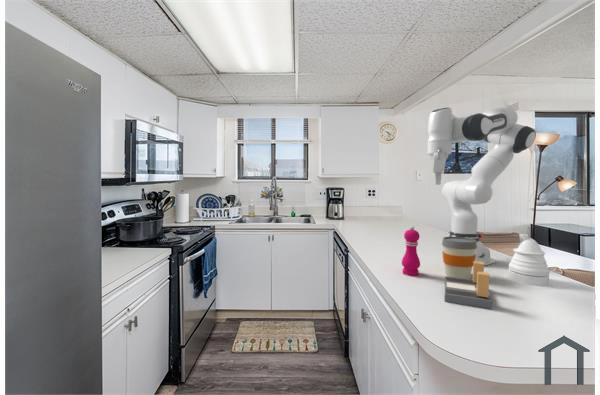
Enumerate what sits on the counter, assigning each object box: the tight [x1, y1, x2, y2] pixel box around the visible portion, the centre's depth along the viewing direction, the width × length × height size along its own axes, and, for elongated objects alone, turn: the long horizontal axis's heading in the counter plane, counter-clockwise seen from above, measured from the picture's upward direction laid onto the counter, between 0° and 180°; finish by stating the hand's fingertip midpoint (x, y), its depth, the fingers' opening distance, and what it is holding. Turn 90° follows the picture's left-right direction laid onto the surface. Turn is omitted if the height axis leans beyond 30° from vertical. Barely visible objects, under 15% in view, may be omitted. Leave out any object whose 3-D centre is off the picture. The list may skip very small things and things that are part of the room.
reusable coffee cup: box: [441, 236, 477, 280], centre depth 125 cm, size 13×13×15 cm
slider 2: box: [476, 271, 490, 298], centre depth 96 cm, size 3×3×7 cm
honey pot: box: [507, 233, 550, 287], centre depth 120 cm, size 13×13×18 cm
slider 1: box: [472, 261, 485, 283], centre depth 109 cm, size 3×3×7 cm
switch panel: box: [444, 275, 494, 310], centre depth 104 cm, size 13×20×3 cm, turn 155°
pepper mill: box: [401, 225, 421, 277], centre depth 126 cm, size 7×7×20 cm
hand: (438, 184), depth 122 cm, fingers closed
